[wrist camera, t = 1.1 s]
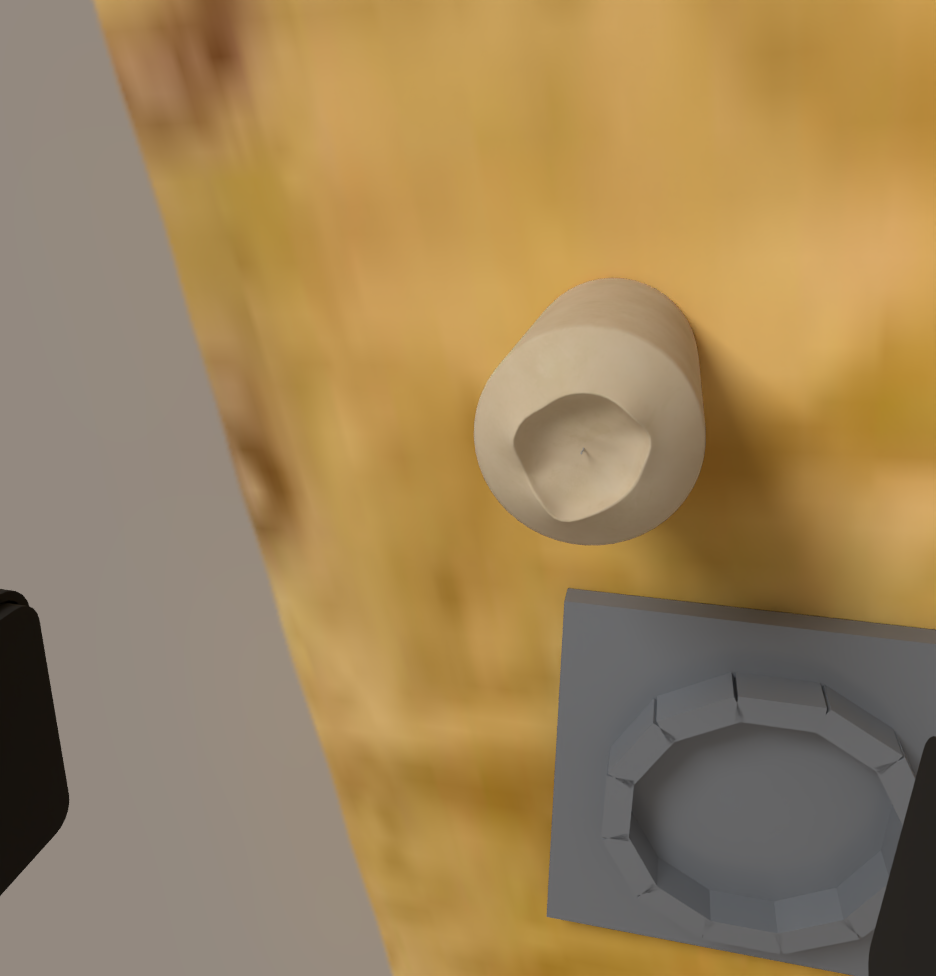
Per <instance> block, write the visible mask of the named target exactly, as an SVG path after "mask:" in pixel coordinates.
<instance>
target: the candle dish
mask: <svg viewBox="0 0 936 976" xmlns="http://www.w3.org/2000/svg"><path fill="white" fill-rule="evenodd" d="M932 736H936V630H933V629H924V628H915V627H906V626H898V625H889V624H880V623H871V622H862V621H853V620H844V619H836V618H827V617H818V616H809V615H800V614H791V613H783V612H774V611H765V610H756V609H747V608H738V607H729V606H721V605H712V604H703V603H694V602H685V601H676V600H668V599H659V598H650V597H641V596H632V595H623V594H614V593H606V592H597V591H588V590H579V589H570V588H568V589H567V593H566V597H565V602H564V619H563V637H562V655H561V672H560V690H559V708H558V726H557V743H556V761H555V779H554V796H553V814H552V832H551V849H550V867H549V885H548V903H547V917H551V918H556V919H561V920H567V921H572V922H577V923H582V924H588V925H593V926H598V927H603V928H608V929H614V930H619V931H624V932H629V933H634V934H640V935H645V936H650V937H655V938H661V939H666V940H671V941H676V942H681V943H687V944H692V945H697V946H702V947H708V948H713V949H718V950H723V951H728V952H734V953H739V954H744V955H749V956H754V957H760V958H765V959H770V960H775V961H781V962H786V963H791V964H796V965H801V966H807V967H812V968H817V969H822V970H827V971H833V972H838V973H843V974H848V975H854V976H869V974H868V960H869V951H870V945H871V941H872V938H873V934H874V930H875V927H876V923H877V919H878V916H879V912H880V908H881V904H882V901H883V897H884V893H885V890H886V886H887V882H888V878H889V875H890V871H891V867H892V864H893V860H894V856H895V853H896V849H897V845H898V841H899V838H900V834H901V830H902V827H903V823H904V819H905V816H906V812H907V808H908V804H909V801H910V797H911V793H912V790H913V786H914V782H915V779H916V775H917V771H918V767H919V764H920V760H921V756H922V753H923V749H924V747H925V744H926V742H927V740H928V739H929V738H930V737H932Z"/></svg>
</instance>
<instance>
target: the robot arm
mask: <svg viewBox="0 0 936 976" xmlns="http://www.w3.org/2000/svg"><path fill="white" fill-rule="evenodd" d="M68 807H69V793H68V787H67V781H66V775H65V770H64V763H63V757H62V751H61V745H60V739H59V734H58V728H57V722H56V716H55V710H54V704H53V698H52V692H51V686H50V680H49V674H48V668H47V662H46V657H45V650H44V644H43V639H42V633H41V627H40V621H39V617H38V614H37V613H36V611H35V610H34V609H33V608H31V607H29V605H28V602H27V600H26V599H25V597H24V596H23V595H22V594H20V593H18V592H16V591H11V590H4V589H0V895H1V894H2V893H3V892H4V891H5V890H6V889H7V887H8V886H9V885H10V884H11V883H12V882H13V881H14V880H15V879H16V878H17V876H18V875H19V874H20V873H21V872H22V871H23V870H24V869H25V868H26V866H27V865H28V864H29V863H30V862H31V861H32V860H33V859H34V858H35V856H36V855H37V854H38V853H39V852H40V851H41V850H42V849H43V848H44V846H45V845H46V844H47V843H48V842H49V841H50V840H51V839H52V838H53V836H54V835H55V834H56V833H57V832H58V830H59V829H60V828H61V826H62V824H63V822H64V820H65V818H66V815H67V812H68ZM868 974H869V976H936V736H932V737H930V738H929V739H928V740H927V742H926V744H925V747H924V749H923V753H922V756H921V760H920V764H919V767H918V771H917V775H916V779H915V782H914V786H913V790H912V793H911V797H910V801H909V804H908V808H907V812H906V816H905V819H904V823H903V827H902V830H901V834H900V838H899V841H898V845H897V849H896V853H895V856H894V860H893V864H892V867H891V871H890V875H889V878H888V882H887V886H886V890H885V893H884V897H883V901H882V904H881V908H880V912H879V916H878V919H877V923H876V927H875V930H874V934H873V938H872V941H871V945H870V951H869V960H868Z"/></svg>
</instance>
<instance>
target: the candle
mask: <svg viewBox="0 0 936 976" xmlns="http://www.w3.org/2000/svg"><path fill="white" fill-rule="evenodd" d="M474 442H475V451H476V455H477V459H478V464H479V467H480V469H481V472H482V474H483V477H484V479H485V481H486V483H487V485H488V486H489V488H490V490H491V491H492V493H493V494H494V496H495V497H496V498H497V500H498V501H499V502H500V503H501V505H502V506H503V507H504V508H505V509H506V510H507V511H508V512H509V513H510V514H511V515H513V516H514V517H515V518H516V519H517V520H518V521H520V522H521V523H523V524H524V525H526V526H527V527H529V528H530V529H532V530H534V531H536V532H538V533H540V534H542V535H544V536H547V537H550V538H552V539H555V540H558V541H562V542H567V543H571V544H579V545H606V544H614V543H618V542H622V541H626V540H630V539H632V538H635V537H637V536H640V535H642V534H644V533H646V532H648V531H650V530H652V529H654V528H655V527H657V526H658V525H660V524H661V523H662V522H664V521H665V520H667V519H668V518H669V517H670V516H671V515H672V514H673V513H674V512H675V511H676V510H677V509H678V508H679V507H680V506H681V504H682V503H683V502H684V501H685V499H686V498H687V497H688V495H689V493H690V492H691V490H692V488H693V487H694V485H695V483H696V480H697V478H698V476H699V473H700V470H701V467H702V463H703V459H704V453H705V445H706V429H705V417H704V407H703V396H702V386H701V376H700V365H699V357H698V350H697V345H696V341H695V337H694V334H693V331H692V329H691V327H690V324H689V322H688V321H687V319H686V317H685V316H684V314H683V313H682V311H681V310H680V309H679V308H678V307H677V306H676V304H675V303H674V302H673V301H671V300H670V299H669V298H668V297H667V296H666V295H664V294H663V293H661V292H660V291H658V290H657V289H655V288H653V287H651V286H649V285H647V284H644V283H641V282H638V281H634V280H629V279H624V278H604V279H597V280H593V281H589V282H586V283H583V284H580V285H578V286H576V287H574V288H572V289H570V290H568V291H567V292H565V293H564V294H562V295H561V296H559V297H558V298H557V299H556V300H555V301H554V302H553V303H552V304H551V305H549V306H548V307H547V309H546V310H545V311H544V312H543V313H542V314H541V316H540V317H539V318H538V319H537V320H536V321H535V323H534V324H533V325H532V326H531V327H530V329H529V330H528V331H527V332H526V333H525V335H524V336H523V337H522V338H521V339H520V341H519V342H518V343H517V344H516V345H515V347H514V348H513V349H512V350H511V351H510V352H509V354H508V355H507V356H506V357H505V358H504V360H503V361H502V362H501V363H500V364H499V366H498V367H497V368H496V369H495V371H494V372H493V374H492V375H491V377H490V378H489V380H488V381H487V383H486V385H485V388H484V390H483V392H482V394H481V396H480V400H479V403H478V406H477V410H476V416H475V422H474Z"/></svg>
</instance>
